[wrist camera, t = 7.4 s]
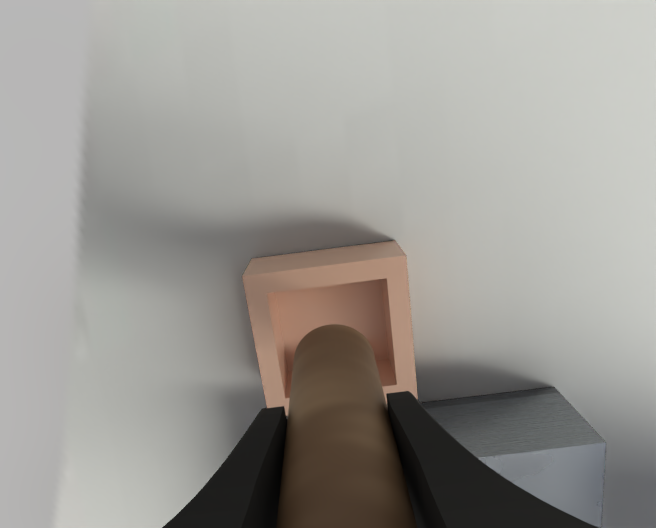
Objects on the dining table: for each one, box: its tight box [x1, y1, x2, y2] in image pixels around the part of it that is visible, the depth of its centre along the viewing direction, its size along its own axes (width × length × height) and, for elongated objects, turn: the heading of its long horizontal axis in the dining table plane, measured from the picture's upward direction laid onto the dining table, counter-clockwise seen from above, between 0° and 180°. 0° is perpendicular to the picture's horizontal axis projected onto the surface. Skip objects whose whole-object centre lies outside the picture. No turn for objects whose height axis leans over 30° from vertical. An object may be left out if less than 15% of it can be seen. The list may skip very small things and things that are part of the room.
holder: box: [242, 240, 418, 416], centre depth 19 cm, size 6×6×2 cm
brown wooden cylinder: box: [276, 324, 417, 528], centre depth 11 cm, size 3×3×10 cm
